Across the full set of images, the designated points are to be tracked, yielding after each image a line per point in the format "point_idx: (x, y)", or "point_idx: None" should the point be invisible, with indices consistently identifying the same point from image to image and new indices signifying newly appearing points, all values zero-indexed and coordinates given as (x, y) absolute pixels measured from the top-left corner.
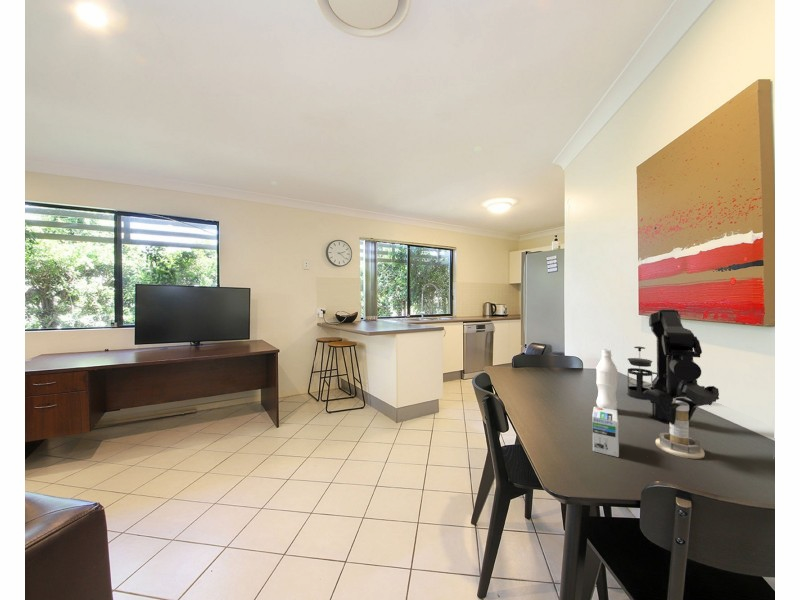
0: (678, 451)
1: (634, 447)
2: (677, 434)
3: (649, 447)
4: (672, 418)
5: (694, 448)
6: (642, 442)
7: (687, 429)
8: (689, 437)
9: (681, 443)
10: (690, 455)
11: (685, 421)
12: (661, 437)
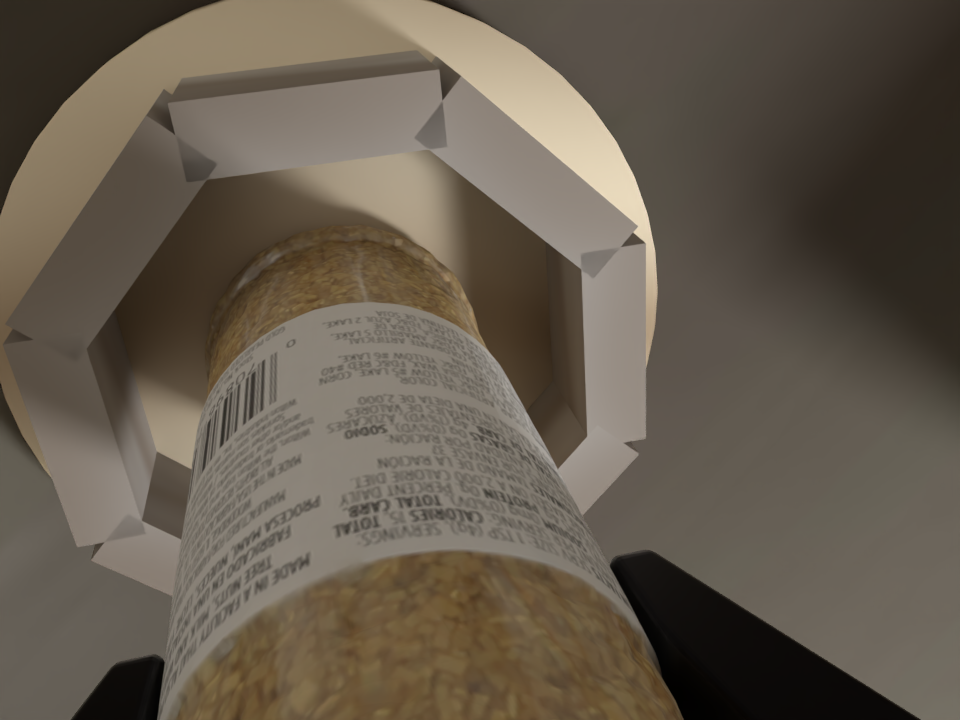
0: (539, 140)
1: (943, 337)
2: (502, 375)
3: (746, 348)
4: (803, 651)
5: (313, 76)
6: (710, 481)
7: (317, 410)
8: (68, 490)
9: (417, 269)
10: (434, 5)
11: (420, 555)
12: (620, 447)
